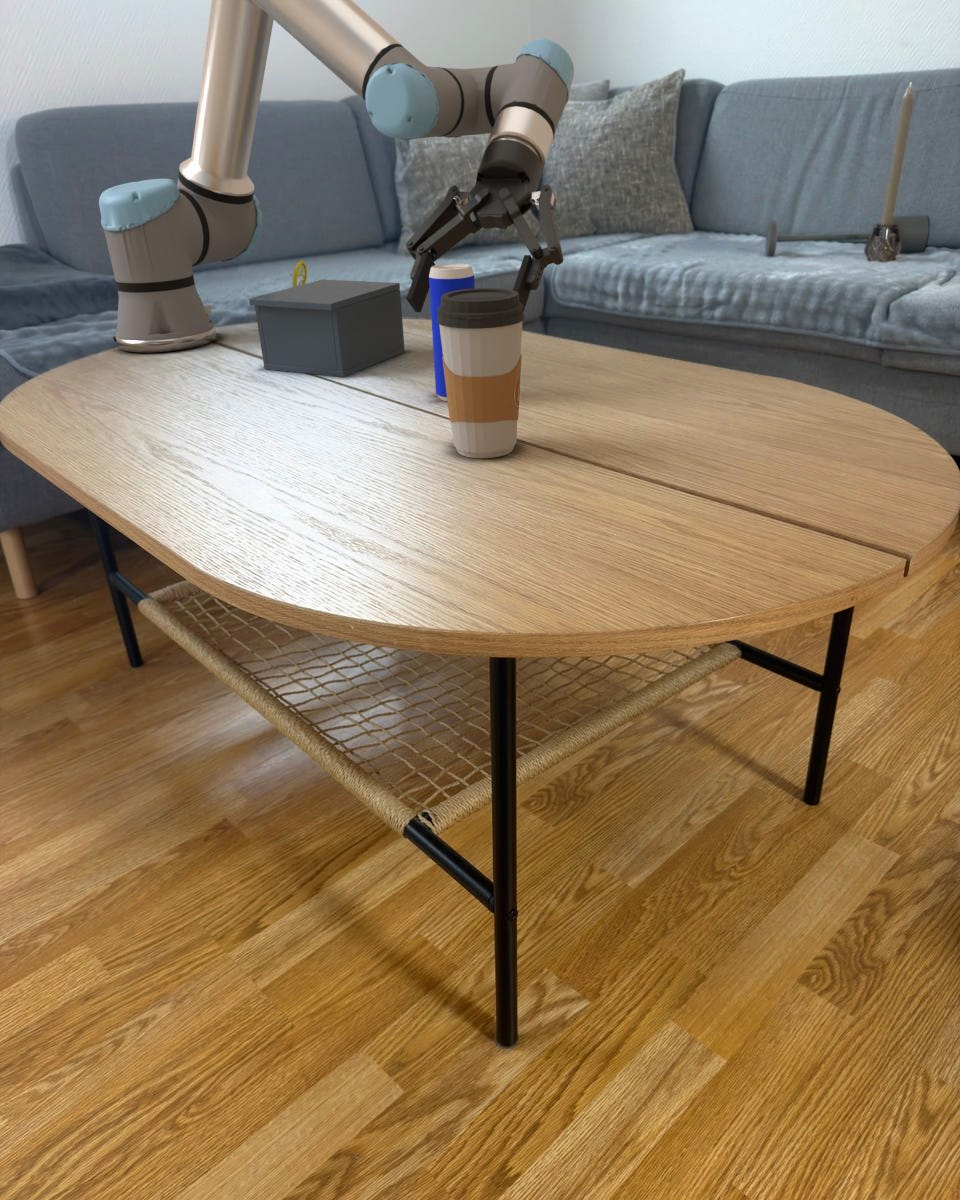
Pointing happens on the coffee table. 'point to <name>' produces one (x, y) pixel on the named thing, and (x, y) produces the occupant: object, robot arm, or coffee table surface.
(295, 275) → the yellow spoked ring
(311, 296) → the lid
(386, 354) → the chest
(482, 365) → the coffee cup
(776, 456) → the coffee table surface
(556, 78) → the robot arm
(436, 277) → the beverage can
